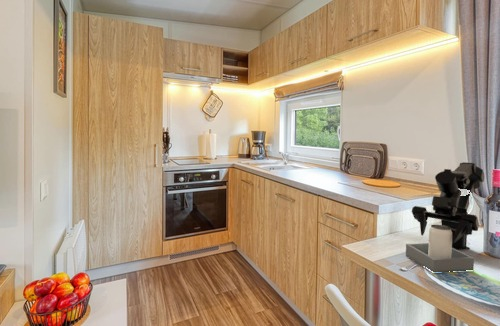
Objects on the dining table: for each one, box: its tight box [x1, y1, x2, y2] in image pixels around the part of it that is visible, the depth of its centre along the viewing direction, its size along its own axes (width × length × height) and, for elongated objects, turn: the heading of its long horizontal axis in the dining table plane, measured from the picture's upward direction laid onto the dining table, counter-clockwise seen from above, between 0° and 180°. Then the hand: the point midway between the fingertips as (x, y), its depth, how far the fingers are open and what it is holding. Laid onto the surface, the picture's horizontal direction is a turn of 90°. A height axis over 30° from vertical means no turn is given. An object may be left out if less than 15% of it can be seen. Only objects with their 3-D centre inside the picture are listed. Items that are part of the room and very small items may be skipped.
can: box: [428, 224, 452, 259], centre depth 94 cm, size 6×6×12 cm
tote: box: [405, 242, 475, 272], centre depth 94 cm, size 14×14×4 cm
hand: (437, 238), depth 93 cm, fingers open, 9 cm apart
